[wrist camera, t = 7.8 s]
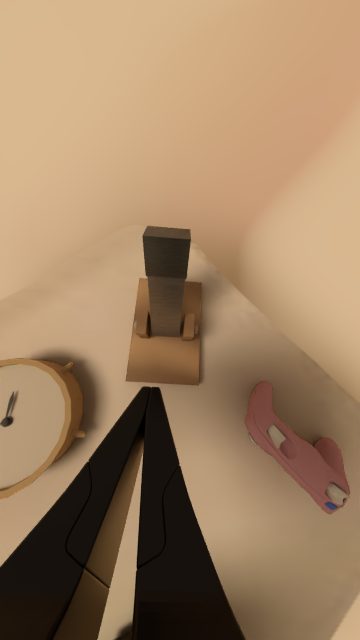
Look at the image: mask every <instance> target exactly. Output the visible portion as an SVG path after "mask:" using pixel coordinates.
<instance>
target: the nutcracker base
mask: <svg viewBox="0 0 360 640" xmlns="http://www.w3.org/2000/svg"><path fill="white" fill-rule="evenodd" d="M200 314H201V283H197V282H185V285H184V294H183V304H182V314H181V324H180V334H179V337H163V336H152V330H151V316H150V303H149V290H148V279H144V278H139V285H138V293H137V300H136V308H135V315H134V323H133V330H132V338H131V345H130V353H129V360H128V367H127V375H126V381H131V382H149V383H167V384H184V385H199V351H200Z"/></svg>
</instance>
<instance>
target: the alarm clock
mask: <svg viewBox="0 0 360 640" xmlns="http://www.w3.org/2000/svg"><path fill="white" fill-rule="evenodd" d="M73 365H74V363H73V362H70V363H68V364H67V365H65V366H64V367H63V366H61V365H60V364H58V363H56V362H51V361H45V360H30V359H23V358H16V359H9V360H2V361H0V499H3V498H7V497H9V496H11V495H13V494H14V493H16V492H18V491H19V490H21V489H23V488H25V487H26V486H28V485H30V484H31V483H33V482H34V481H35V480H36V479H37V478H38V477H39V476H40V475H41V474H42V473H43V472H44V471H45V470H46V469H47V468H48V467H50V466H51V465H53V464H54V463H55V462H56V461H57V460H58V459H59V458H60V457H61V456H62V455H63V454H64V453H65V452H66V451H67V450H68V449H69V447H70V445H71V443H72V442H73V440H74V438H75V437H85V435H86V432H84V431H81V430H79V428H80V424H81V421H82V417H83V413H84V408H83V393H82V391H81V388H80V385H79V382H78V380H77V379H76V378H75V377H74V375H73V374H72V373H71V372H70V371H69V369H70V368H71V367H72V366H73Z"/></svg>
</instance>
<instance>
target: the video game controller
mask: <svg viewBox="0 0 360 640" xmlns="http://www.w3.org/2000/svg"><path fill="white" fill-rule="evenodd" d="M272 397H273V389H272V386H271V384H270V383H269V382H266V381H263V382H261V383H259V384H258V385H257V386H256V387H255V388H254V390H253V392H252V394H251V396H250V399H249V403H248V412H247V416H246V417H245V424H246V427H247V429H248V431H249V437H250V439H251V441H252V442H253V443H254V444H256V445H259V446H260V447H261V448H262V449H263V450H264V451H265V452H267V453H268V454H270V455H273V457H274V458H275V459H276V460H277V461H278V462H279V464H280V465H281V466H282V467H283V468H284V469H285V470H286V471H287V472H288V473H289V474H290V475H291V477H292V478H293V479H294V480H295V481H296V482H297V483H298V484H299V485H300V486H302V487H303V488H304V489H305V490H306V491H307V492H308V493H309V494H310V495H311V497H312V498H313V499H314V500H315V502H316V503H317V504H318V505H319V506H320V507H321V508H322V509H323V510H324V511H325V512H326V513H328V514H332V513H333V512H335V511H336V510H338V509H339V508H341V507H343V506H344V504H345V503H346V500H347V498H349V494H350V489H349V485H348V482H347V479H346V476H345V472H344V466H343V459H342V455H341V451H340V449H339V447H338V446H337V444H336V443H335V442H334V441H333V440H331V439H330V438H320V439H319V440H318V441H317V442H316V443H315V445H314V447H313V446H312V445H311V444H309V443H308V442H306V441H305V440H303V439H302V438H300V437H298V436H297V435H295V434H294V433H293V432H292V431H291V430H290V429H289V428H288V427H287V426H286V425H285V424H284V423H283V422H282V421H281V420H280V419H279V418H278V417H276V415H275V414H274V412H273V405H272Z"/></svg>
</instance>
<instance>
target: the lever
mask: <svg viewBox="0 0 360 640" xmlns="http://www.w3.org/2000/svg"><path fill="white" fill-rule="evenodd" d="M190 241H191V236H190V229H178V228H166V227H153V226H147V228H146V230H145V232H144V234H143V247H144V259H145V271H146V276H147V277H148V290H149V303H150V316H151V330H152V336H163V337H179V334H180V324H181V314H182V304H183V294H184V285H185V279H186V278H187V269H188V260H189V251H190Z"/></svg>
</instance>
